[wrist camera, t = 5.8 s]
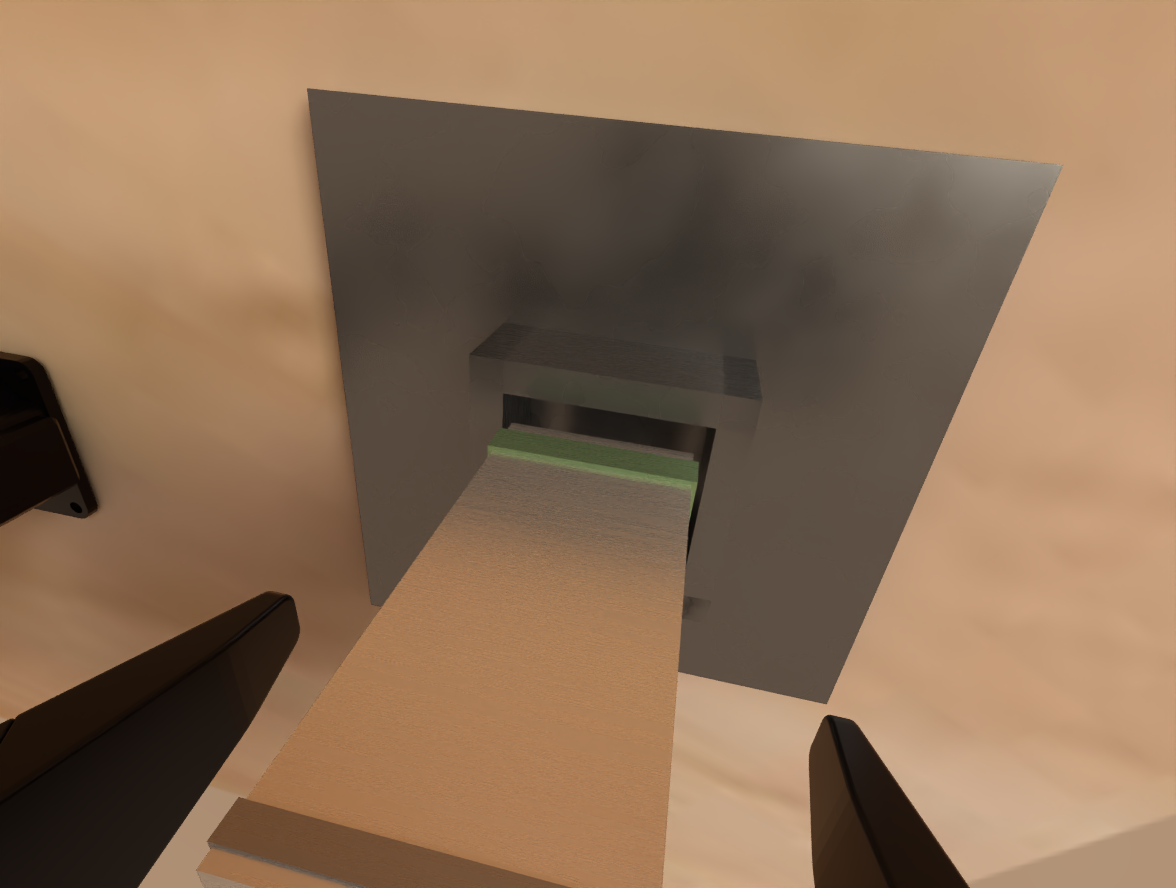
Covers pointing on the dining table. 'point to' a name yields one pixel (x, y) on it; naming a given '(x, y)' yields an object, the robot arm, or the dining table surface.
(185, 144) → the dining table surface
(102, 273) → the dining table surface
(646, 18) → the dining table surface
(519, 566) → the post
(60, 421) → the robot arm
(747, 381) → the stand base
